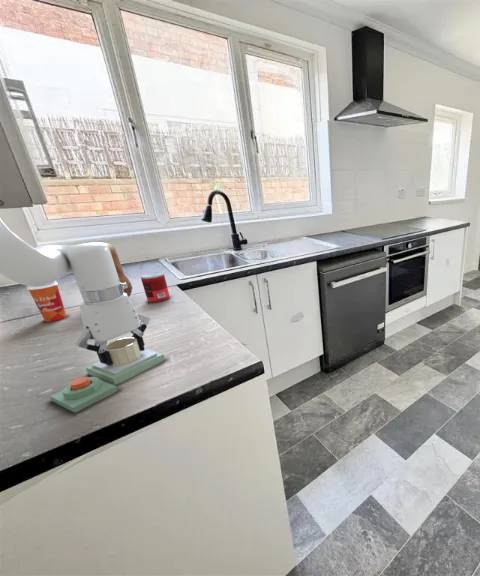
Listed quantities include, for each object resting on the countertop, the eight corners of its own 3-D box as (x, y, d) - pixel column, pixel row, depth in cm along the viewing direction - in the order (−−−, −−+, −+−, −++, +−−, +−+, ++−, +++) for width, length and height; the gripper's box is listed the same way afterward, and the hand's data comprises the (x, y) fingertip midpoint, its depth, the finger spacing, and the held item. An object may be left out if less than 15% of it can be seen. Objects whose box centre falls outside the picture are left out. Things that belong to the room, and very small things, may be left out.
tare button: (94, 384, 71) (91, 378, 71) (76, 392, 69) (74, 386, 68) (86, 380, 73) (84, 375, 72) (69, 388, 70) (66, 383, 69)
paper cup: (35, 324, 109) (19, 287, 104) (47, 316, 115) (33, 281, 111) (64, 320, 112) (50, 284, 107) (74, 312, 118) (61, 278, 114)
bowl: (118, 368, 77) (112, 352, 76) (103, 362, 80) (97, 347, 79) (147, 354, 83) (142, 340, 82) (131, 349, 86) (127, 335, 84)
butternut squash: (84, 311, 119) (60, 248, 111) (107, 299, 132) (88, 241, 124) (123, 308, 121) (103, 246, 113) (143, 296, 134) (126, 239, 126)
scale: (115, 385, 75) (112, 376, 74) (88, 374, 80) (84, 365, 79) (165, 360, 85) (162, 352, 85) (138, 351, 90) (136, 343, 89)
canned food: (173, 295, 135) (167, 271, 131) (164, 301, 128) (157, 276, 124) (154, 296, 134) (147, 272, 130) (143, 303, 126) (136, 277, 123)
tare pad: (117, 390, 73) (114, 380, 72) (75, 413, 66) (70, 401, 65) (94, 381, 77) (90, 370, 76) (51, 401, 70) (46, 390, 69)
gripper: (132, 281, 84) (150, 339, 90) (48, 304, 69) (75, 371, 75) (149, 284, 82) (166, 343, 88) (65, 308, 67) (92, 378, 73)
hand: (124, 356), depth 81 cm, fingers closed on bowl, 6 cm apart
